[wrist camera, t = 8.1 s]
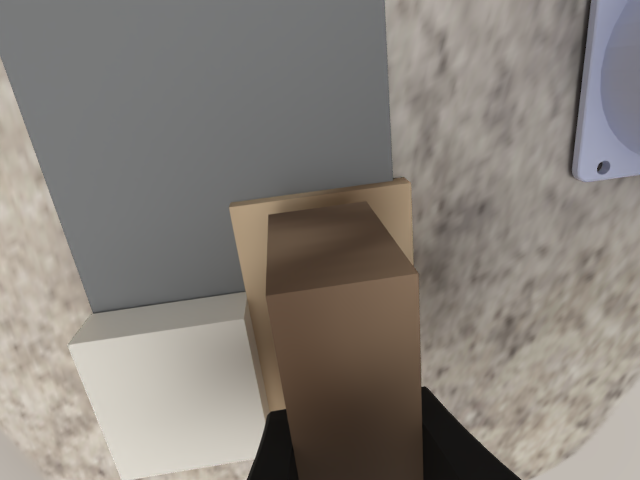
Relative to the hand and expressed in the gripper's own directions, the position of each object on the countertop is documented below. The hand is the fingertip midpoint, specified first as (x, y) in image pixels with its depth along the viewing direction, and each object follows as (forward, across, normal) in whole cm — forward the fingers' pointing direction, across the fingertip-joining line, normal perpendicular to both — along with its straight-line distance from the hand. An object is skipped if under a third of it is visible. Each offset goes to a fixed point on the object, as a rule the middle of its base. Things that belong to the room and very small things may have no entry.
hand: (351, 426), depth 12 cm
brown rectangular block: (+3, 0, 0) cm, 4 cm away
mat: (+6, +3, -6) cm, 10 cm away
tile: (+5, +6, -1) cm, 8 cm away
